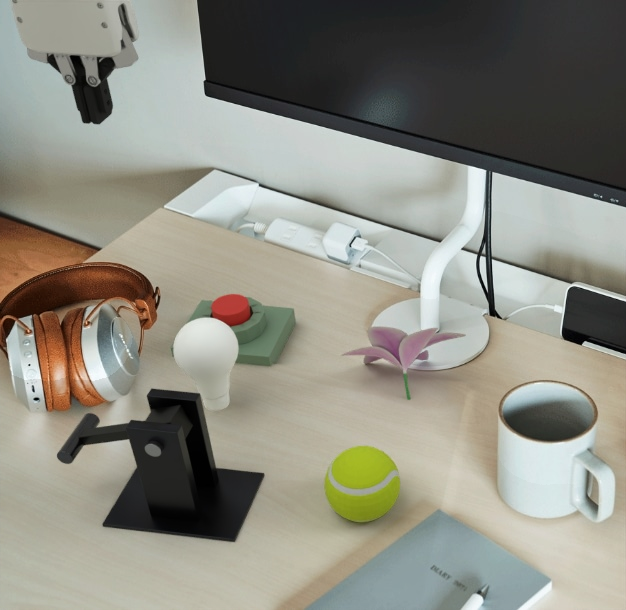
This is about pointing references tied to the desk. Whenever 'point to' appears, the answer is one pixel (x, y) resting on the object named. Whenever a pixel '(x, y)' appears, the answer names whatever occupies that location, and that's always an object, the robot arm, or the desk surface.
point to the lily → (400, 346)
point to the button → (231, 309)
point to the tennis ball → (362, 484)
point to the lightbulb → (207, 358)
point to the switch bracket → (181, 479)
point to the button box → (257, 331)
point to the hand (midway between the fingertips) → (97, 118)
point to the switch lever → (115, 430)
